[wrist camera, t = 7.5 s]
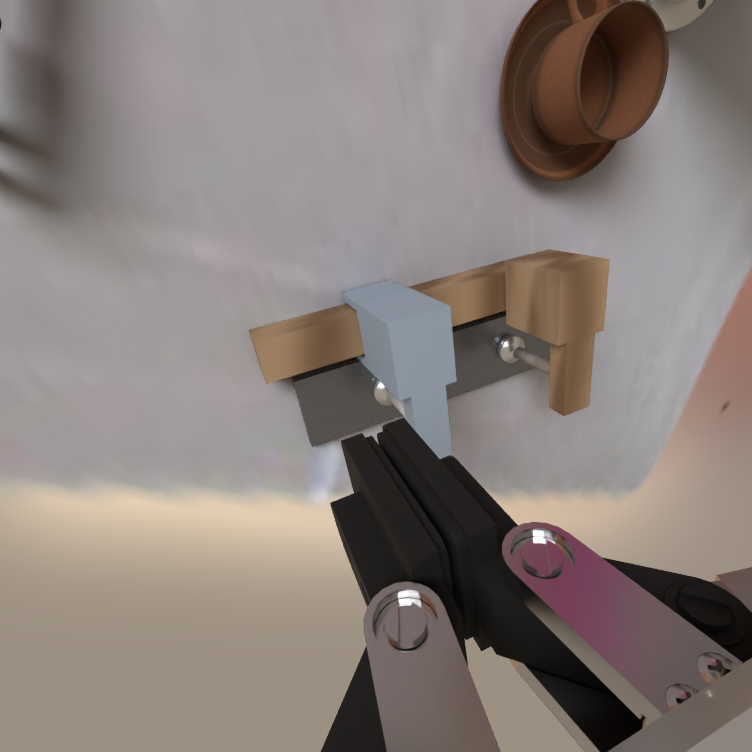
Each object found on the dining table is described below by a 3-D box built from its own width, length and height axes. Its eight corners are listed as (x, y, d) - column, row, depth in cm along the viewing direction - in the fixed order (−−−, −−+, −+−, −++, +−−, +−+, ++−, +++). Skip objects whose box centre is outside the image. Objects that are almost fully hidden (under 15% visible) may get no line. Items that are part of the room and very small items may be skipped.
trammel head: (390, 279, 32) (450, 306, 25) (408, 403, 37) (463, 456, 30) (341, 292, 31) (387, 324, 24) (366, 418, 36) (411, 477, 29)
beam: (529, 242, 36) (621, 255, 28) (529, 359, 41) (607, 398, 33) (244, 316, 30) (262, 360, 22) (284, 445, 34) (310, 517, 27)
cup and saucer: (456, 77, 29) (515, 52, 24) (578, -55, 29) (665, -110, 24) (534, 214, 35) (594, 218, 30) (635, 106, 35) (713, 91, 30)
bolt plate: (547, 299, 39) (560, 303, 38) (546, 358, 42) (558, 363, 40) (292, 378, 33) (296, 386, 31) (309, 441, 35) (314, 452, 34)
